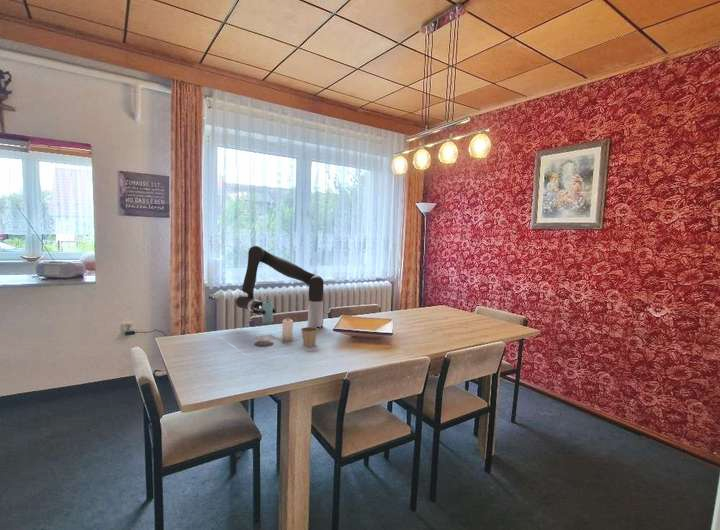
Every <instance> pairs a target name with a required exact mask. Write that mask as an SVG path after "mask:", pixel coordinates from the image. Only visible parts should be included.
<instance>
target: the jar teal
mask: <svg viewBox="0 0 720 530" xmlns="http://www.w3.org/2000/svg"><path fill="white" fill-rule="evenodd" d="M262 302H263V310H265V315H263V314H261V315H262V318H261V319H262V323H264V324H271V323H273V322H274V316H273V315H274V313H273V306H274V302H273V301H270V300H269V299H268V300H265V301H262Z"/></svg>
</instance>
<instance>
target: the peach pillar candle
mask: <svg viewBox="0 0 720 530" xmlns="http://www.w3.org/2000/svg"><path fill="white" fill-rule="evenodd" d="M293 329H294V320H293V319H292V318H291V319H290V317H287V318H285V319H282V331H281V333H282V334H281V335H282V336H281V338H282V340H283V341H291V340H292V337H293V334H294V333H293Z"/></svg>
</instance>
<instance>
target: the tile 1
mask: <svg viewBox="0 0 720 530" xmlns="http://www.w3.org/2000/svg"><path fill="white" fill-rule="evenodd" d="M254 338H255V339H257V340H258V341H274V340H276V339H277V338H278V337H276V336H274V335H272V334H266V335H260V336H254Z"/></svg>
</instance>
